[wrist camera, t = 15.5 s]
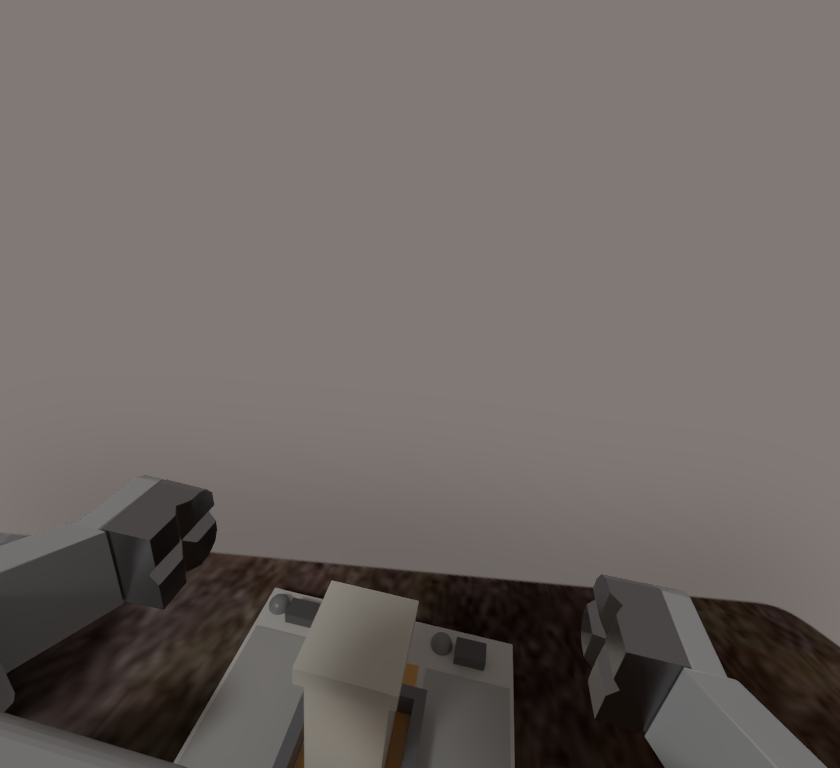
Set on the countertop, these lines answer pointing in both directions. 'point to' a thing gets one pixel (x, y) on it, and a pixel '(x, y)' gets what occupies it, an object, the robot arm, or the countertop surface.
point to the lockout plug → (353, 675)
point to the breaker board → (414, 718)
